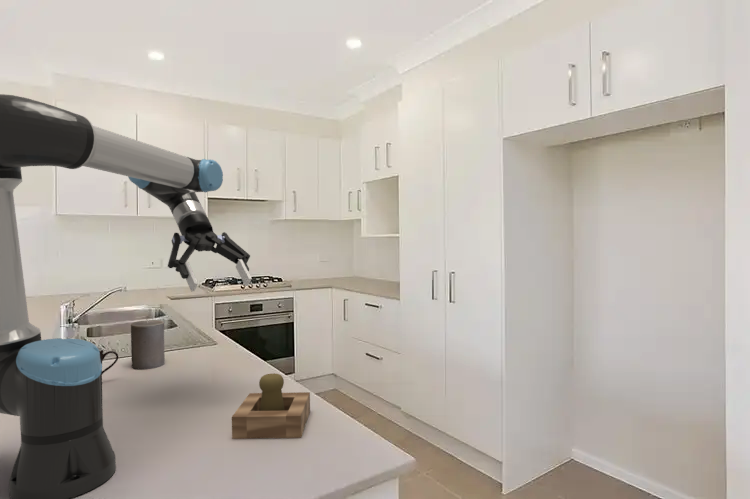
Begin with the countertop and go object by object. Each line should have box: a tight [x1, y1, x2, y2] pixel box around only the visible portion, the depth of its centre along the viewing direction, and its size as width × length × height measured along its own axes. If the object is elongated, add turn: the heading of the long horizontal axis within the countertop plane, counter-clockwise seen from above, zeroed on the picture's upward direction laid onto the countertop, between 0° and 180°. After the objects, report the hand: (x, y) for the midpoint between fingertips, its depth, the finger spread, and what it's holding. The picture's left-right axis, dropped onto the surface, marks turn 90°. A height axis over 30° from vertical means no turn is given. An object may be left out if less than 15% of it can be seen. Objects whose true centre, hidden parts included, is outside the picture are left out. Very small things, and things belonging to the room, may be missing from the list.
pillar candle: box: [130, 318, 166, 370], centre depth 150 cm, size 10×10×15 cm
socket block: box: [231, 391, 311, 440], centre depth 102 cm, size 14×14×4 cm
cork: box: [258, 372, 285, 411], centre depth 102 cm, size 6×6×11 cm
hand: (222, 284), depth 110 cm, fingers open, 13 cm apart
